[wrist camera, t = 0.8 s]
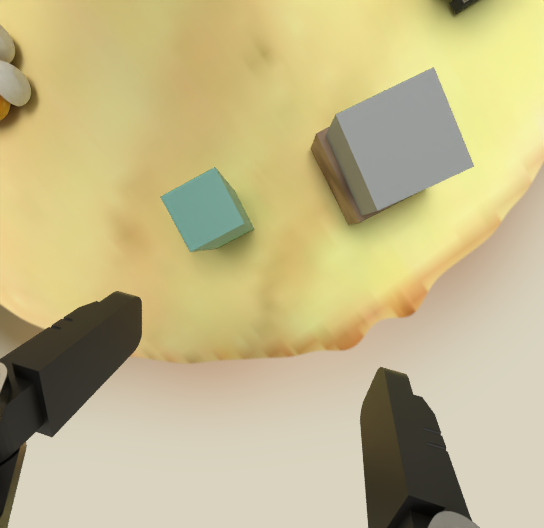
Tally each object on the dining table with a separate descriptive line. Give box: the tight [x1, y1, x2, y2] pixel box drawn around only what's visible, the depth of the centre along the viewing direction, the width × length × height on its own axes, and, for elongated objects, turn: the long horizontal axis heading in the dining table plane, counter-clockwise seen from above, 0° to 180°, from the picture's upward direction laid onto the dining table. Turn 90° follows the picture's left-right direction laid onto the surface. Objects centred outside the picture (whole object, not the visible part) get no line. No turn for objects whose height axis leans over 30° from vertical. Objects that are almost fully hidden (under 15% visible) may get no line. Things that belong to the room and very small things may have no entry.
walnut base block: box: [311, 127, 416, 225], centre depth 29 cm, size 9×9×4 cm
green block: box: [161, 167, 254, 252], centre depth 27 cm, size 5×5×10 cm
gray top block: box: [326, 67, 474, 216], centre depth 25 cm, size 8×8×4 cm
